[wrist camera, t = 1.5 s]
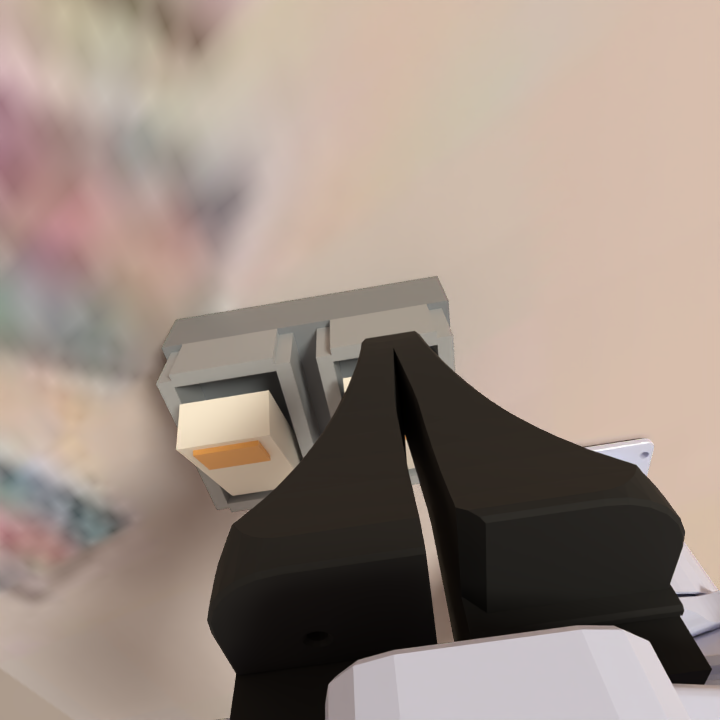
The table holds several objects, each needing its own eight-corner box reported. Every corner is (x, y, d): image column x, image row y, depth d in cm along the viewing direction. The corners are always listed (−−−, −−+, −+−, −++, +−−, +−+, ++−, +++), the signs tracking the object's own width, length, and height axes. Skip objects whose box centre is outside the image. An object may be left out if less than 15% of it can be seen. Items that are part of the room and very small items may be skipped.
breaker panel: (447, 412, 26) (467, 476, 23) (228, 446, 27) (212, 515, 23) (437, 276, 22) (460, 327, 18) (175, 319, 22) (145, 378, 19)
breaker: (303, 447, 23) (305, 489, 22) (233, 458, 24) (232, 500, 23) (268, 390, 18) (269, 440, 17) (179, 404, 18) (175, 455, 17)
